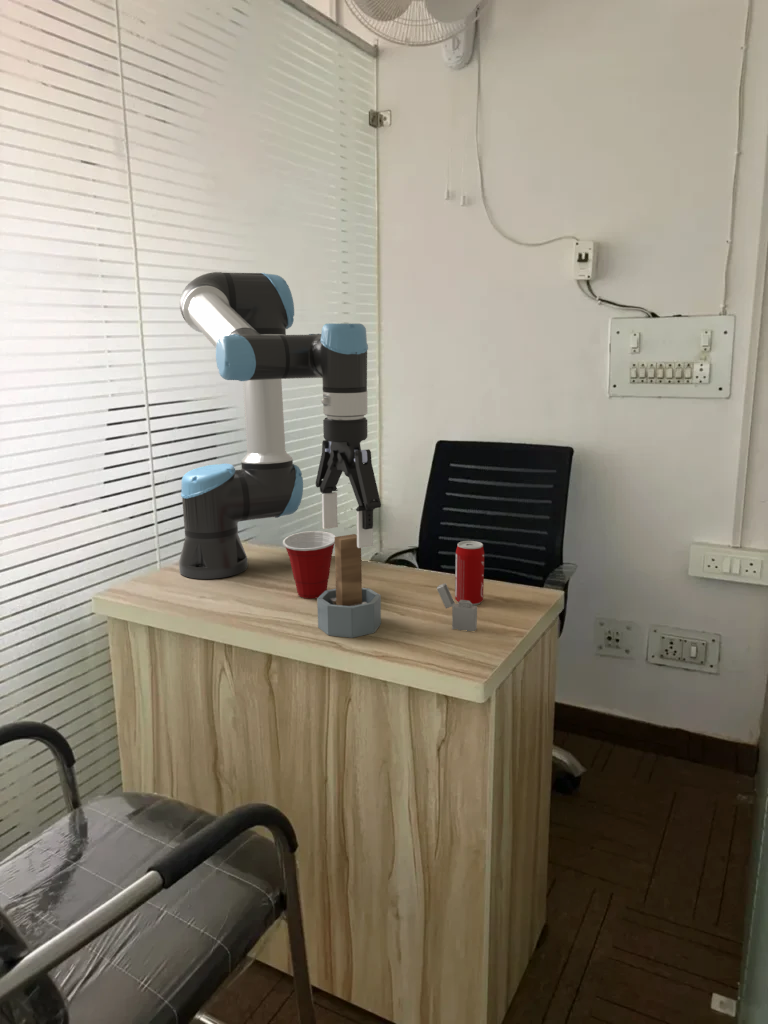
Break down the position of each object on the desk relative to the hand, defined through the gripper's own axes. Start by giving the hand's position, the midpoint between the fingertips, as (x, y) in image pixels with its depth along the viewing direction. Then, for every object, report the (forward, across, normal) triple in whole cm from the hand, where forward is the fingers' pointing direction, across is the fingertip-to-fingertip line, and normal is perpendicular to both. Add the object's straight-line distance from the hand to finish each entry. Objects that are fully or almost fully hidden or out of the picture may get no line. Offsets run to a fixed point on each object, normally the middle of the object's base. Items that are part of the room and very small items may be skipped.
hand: (346, 536), depth 131 cm
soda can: (+17, +2, +26) cm, 31 cm away
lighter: (+17, +12, +16) cm, 26 cm away
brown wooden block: (+16, +1, 0) cm, 16 cm away
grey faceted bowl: (+17, +1, 0) cm, 17 cm away
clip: (+17, +1, 0) cm, 17 cm away
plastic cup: (+17, -18, +1) cm, 25 cm away
